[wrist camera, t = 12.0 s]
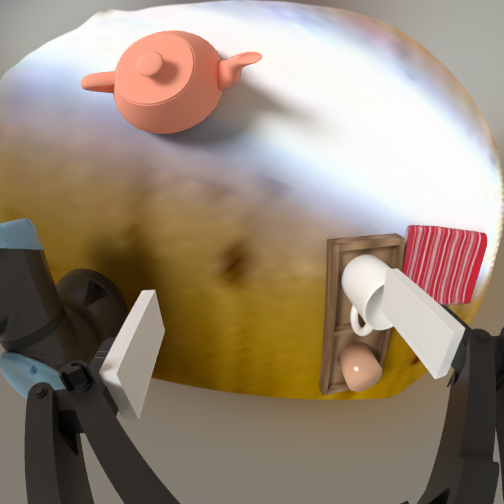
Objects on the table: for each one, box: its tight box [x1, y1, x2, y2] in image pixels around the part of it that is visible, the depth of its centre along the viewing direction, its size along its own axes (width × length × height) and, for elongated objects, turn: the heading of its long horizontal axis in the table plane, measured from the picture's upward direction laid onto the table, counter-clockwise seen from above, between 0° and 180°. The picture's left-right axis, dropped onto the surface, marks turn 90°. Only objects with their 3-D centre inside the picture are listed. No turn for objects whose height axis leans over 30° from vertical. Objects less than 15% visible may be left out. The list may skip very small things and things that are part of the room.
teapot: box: [81, 31, 262, 134], centre depth 29 cm, size 22×15×12 cm
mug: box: [341, 254, 393, 336], centre depth 41 cm, size 12×8×10 cm
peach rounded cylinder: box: [337, 342, 382, 391], centre depth 49 cm, size 7×7×7 cm
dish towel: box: [402, 225, 487, 305], centre depth 47 cm, size 17×24×3 cm
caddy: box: [319, 233, 405, 395], centre depth 49 cm, size 13×33×3 cm, turn 5°
